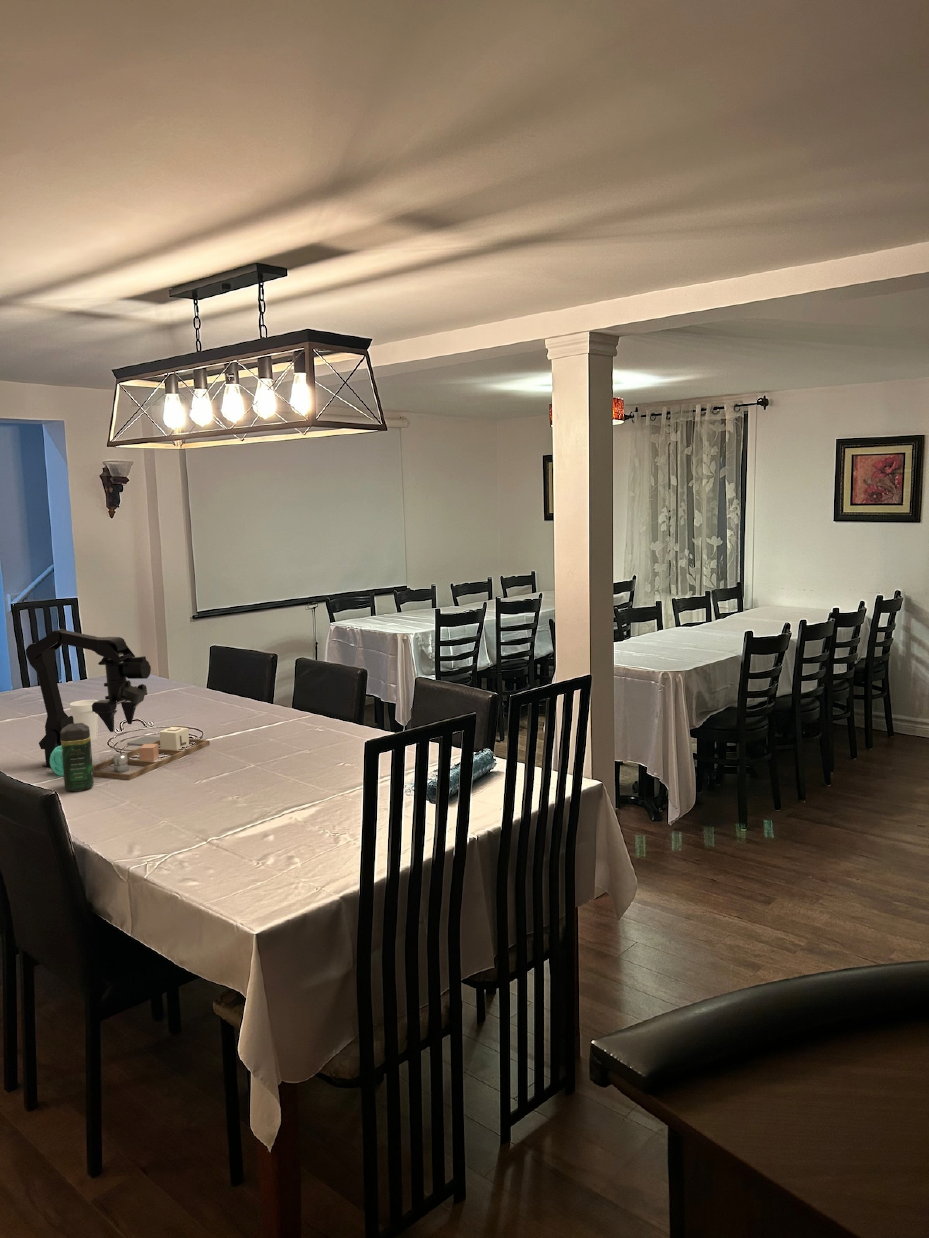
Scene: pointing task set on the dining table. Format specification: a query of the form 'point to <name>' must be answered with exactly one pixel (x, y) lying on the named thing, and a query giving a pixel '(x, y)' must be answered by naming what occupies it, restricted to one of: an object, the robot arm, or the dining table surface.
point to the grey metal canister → (120, 763)
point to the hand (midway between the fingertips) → (121, 727)
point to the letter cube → (174, 738)
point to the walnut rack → (149, 764)
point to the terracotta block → (149, 752)
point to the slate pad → (144, 740)
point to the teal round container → (57, 761)
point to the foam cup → (85, 715)
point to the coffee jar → (77, 757)
